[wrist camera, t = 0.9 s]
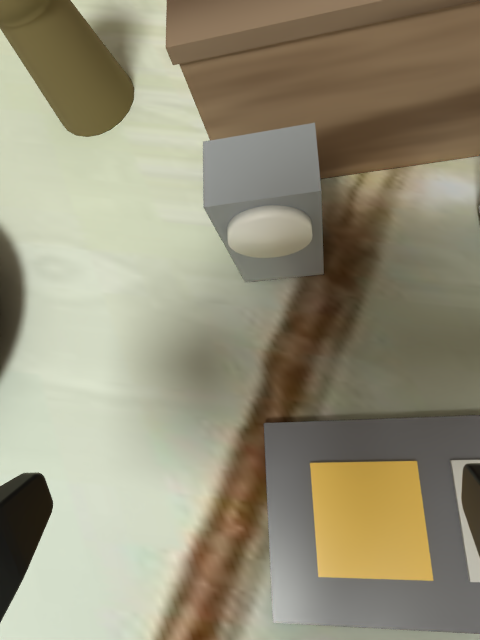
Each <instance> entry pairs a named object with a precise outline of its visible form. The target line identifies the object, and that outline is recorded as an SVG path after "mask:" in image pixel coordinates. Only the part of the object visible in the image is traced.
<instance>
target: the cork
mask: <svg viewBox="0 0 480 640" xmlns="http://www.w3.org/2000/svg"><path fill="white" fill-rule="evenodd" d="M0 29H1V30H2V32H3V33H4V35H5V36H6V38H7V39H8V41H9V42H10V44H11V46H12V47H13V49H14V50H15V52H16V53H17V55H18V56H19V58H20V59H21V61H22V63H23V64H24V66H25V67H26V69H27V70H28V72H29V73H30V75H31V76H32V78H33V80H34V81H35V83H36V84H37V86H38V87H39V89H40V90H41V92H42V93H43V95H44V97H45V98H46V100H47V101H48V103H49V104H50V106H51V107H52V109H53V110H54V112H55V113H56V115H57V117H58V118H59V120H60V121H61V123H62V124H63V125H64V127H65V128H66V129H67V130H68V131H69V132H71V133H73V134H75V135H78V136H86V137H89V136H94V135H100V134H102V133H104V132H106V131H108V130H110V129H112V128H113V127H114V126H116V125H117V124H118V123H119V122H121V121H122V119H123V118H124V117H125V115H126V114H127V113H128V111H129V110H130V107H131V105H132V102H133V98H134V87H133V85H132V82H131V79H130V78H129V77H128V75H127V74H126V73H125V71H124V70H123V69H122V67H121V66H120V65H119V64H118V62H117V61H116V60H115V58H114V57H113V56H112V54H111V53H110V52H109V50H108V49H107V48H106V46H105V45H104V44H103V43H102V41H101V40H100V39H99V37H98V36H97V35H96V33H95V32H94V31H93V29H92V28H91V27H90V25H89V24H88V23H87V22H86V20H85V19H84V18H83V16H82V15H81V14H80V12H79V11H78V10H77V8H76V7H75V6H74V4H73V3H72V2H71V1H70V0H0Z"/></svg>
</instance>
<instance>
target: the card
mask: <svg viewBox="0 0 480 640" xmlns="http://www.w3.org/2000/svg"><path fill="white" fill-rule="evenodd" d="M264 438H265V460H266V483H267V505H268V527H269V549H270V571H271V593H272V616H273V623H289V624H307V625H326V626H344V627H363V628H381V629H400V630H418V631H437V632H455V633H474V634H480V557H479V554H478V551H477V549H476V546H475V543H474V540H473V537H472V534H471V531H470V528H469V525H468V522H467V519H466V516H465V514H464V510H463V507H462V501H461V492H462V474H463V467H464V465H466V464H467V463H480V415H471V416H444V417H417V418H390V419H363V420H335V421H308V422H281V423H264Z"/></svg>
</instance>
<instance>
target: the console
mask: <svg viewBox="0 0 480 640" xmlns="http://www.w3.org/2000/svg"><path fill="white" fill-rule="evenodd" d="M166 49H167V52H168V54H169V57H170V59H171V61H172V64H173V65H176V64H180V67H181V69H182V72H183V74H184V77H185V79H186V82H187V84H188V87H189V89H190V92H191V94H192V96H193V99H194V101H195V104H196V106H197V109H198V111H199V114H200V116H201V119H202V121H203V124H204V126H205V129H206V131H207V134H208V136H209V138H210V140H216V139H222V138H228V137H234V136H240V135H246V134H251V133H257V132H263V131H269V130H275V129H281V128H287V127H293V126H298V125H304V124H310V123H315V129H316V140H317V150H318V161H319V171H320V179H323V178H330V177H337V176H343V175H350V174H357V173H364V172H371V171H378V170H385V169H392V168H399V167H406V166H412V165H419V164H426V163H433V162H440V161H447V160H454V159H461V158H468V157H475V156H480V0H167V16H166Z"/></svg>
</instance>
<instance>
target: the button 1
mask: <svg viewBox="0 0 480 640" xmlns="http://www.w3.org/2000/svg"><path fill="white" fill-rule="evenodd" d="M203 201H204V209H205V211H206V213H207V214H208V216H209V218H210V220H211V222H212V223H213V225H214V227H215V229H216V231H217V232H218V234H219V236H220V238H221V240H222V241H223V243H224V245H225V247H226V249H227V250H228V252H229V254H230V256H231V258H232V259H233V261H234V263H235V265H236V267H237V268H238V270H239V272H240V274H241V276H242V277H243V279H244V281H245V282H253V281H263V280H273V279H282V278H292V277H302V276H312V275H321V274H324V266H323V230H322V195H321V182H320V171H319V161H318V150H317V140H316V129H315V123H310V124H304V125H298V126H293V127H287V128H281V129H275V130H269V131H263V132H257V133H251V134H246V135H240V136H234V137H228V138H222V139H216V140H210V141H205V142H203Z"/></svg>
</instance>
